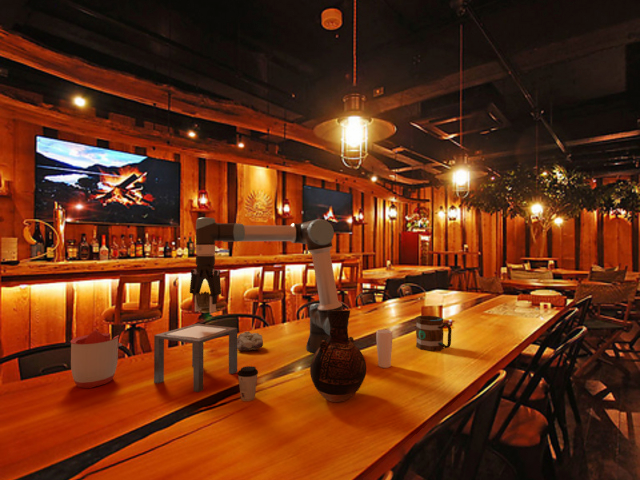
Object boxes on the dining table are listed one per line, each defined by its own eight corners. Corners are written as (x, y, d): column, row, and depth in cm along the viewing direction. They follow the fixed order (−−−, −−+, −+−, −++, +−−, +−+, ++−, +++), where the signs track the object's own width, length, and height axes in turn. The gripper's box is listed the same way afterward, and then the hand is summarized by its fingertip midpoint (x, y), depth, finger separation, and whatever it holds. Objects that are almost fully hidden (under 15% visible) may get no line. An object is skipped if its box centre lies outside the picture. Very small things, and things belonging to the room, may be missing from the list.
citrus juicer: (131, 378, 137) (131, 327, 138) (83, 394, 122) (83, 337, 123) (109, 371, 145) (109, 323, 146) (61, 385, 130) (62, 331, 131)
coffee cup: (240, 404, 114) (240, 373, 114) (235, 396, 120) (235, 367, 120) (260, 400, 117) (260, 370, 117) (254, 392, 123) (254, 364, 123)
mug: (410, 346, 180) (410, 317, 180) (428, 342, 187) (428, 314, 187) (441, 356, 163) (441, 324, 163) (460, 351, 170) (459, 320, 170)
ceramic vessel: (333, 416, 105) (333, 317, 106) (298, 398, 119) (298, 309, 119) (378, 396, 119) (377, 309, 120) (342, 382, 132) (341, 303, 133)
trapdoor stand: (237, 371, 144) (237, 328, 144) (198, 392, 124) (198, 341, 124) (196, 364, 153) (196, 323, 153) (154, 382, 133) (154, 335, 133)
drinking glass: (394, 364, 152) (393, 330, 152) (390, 369, 145) (390, 333, 146) (378, 362, 154) (378, 328, 155) (374, 367, 148) (374, 332, 149)
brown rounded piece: (218, 311, 145) (218, 291, 145) (207, 314, 138) (207, 293, 138) (203, 310, 147) (203, 291, 147) (191, 313, 140) (191, 293, 140)
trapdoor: (197, 341, 127) (197, 338, 127) (165, 337, 134) (165, 334, 134) (226, 331, 142) (226, 328, 143) (196, 328, 149) (196, 325, 149)
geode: (249, 365, 168) (270, 351, 180) (251, 349, 165) (272, 336, 177) (225, 347, 176) (246, 336, 188) (227, 332, 173) (249, 321, 185)
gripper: (180, 255, 144) (179, 311, 143) (218, 255, 135) (218, 315, 135) (193, 255, 150) (193, 308, 150) (231, 255, 142) (230, 311, 142)
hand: (205, 311), depth 142 cm, fingers closed on brown rounded piece, 7 cm apart
